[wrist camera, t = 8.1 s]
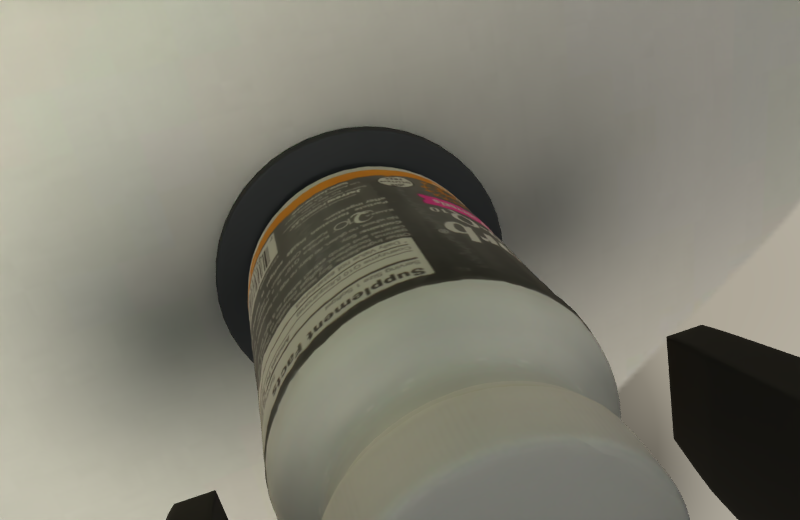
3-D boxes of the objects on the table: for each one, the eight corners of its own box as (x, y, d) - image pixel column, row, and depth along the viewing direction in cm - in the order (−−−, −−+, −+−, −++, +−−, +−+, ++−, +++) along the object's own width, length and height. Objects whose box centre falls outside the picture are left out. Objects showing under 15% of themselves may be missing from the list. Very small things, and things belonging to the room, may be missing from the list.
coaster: (471, 90, 17) (477, 94, 17) (516, 342, 20) (522, 349, 20) (172, 176, 16) (171, 180, 16) (266, 425, 19) (267, 435, 19)
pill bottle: (520, 272, 19) (807, 566, 10) (351, 417, 19) (480, 824, 10) (378, 106, 16) (591, 297, 7) (189, 276, 17) (171, 654, 8)
